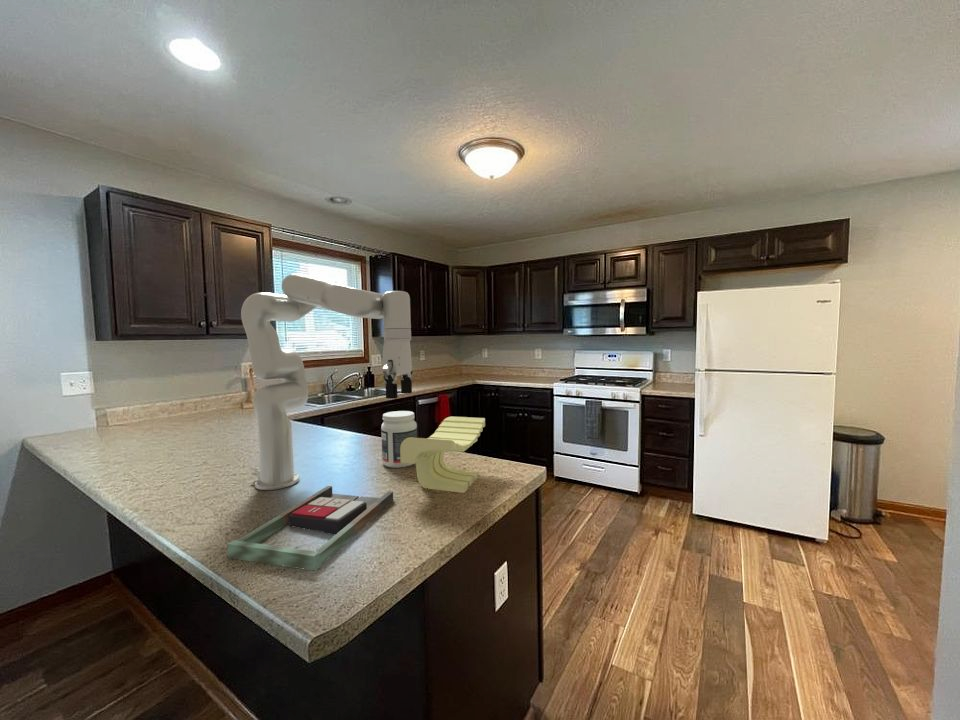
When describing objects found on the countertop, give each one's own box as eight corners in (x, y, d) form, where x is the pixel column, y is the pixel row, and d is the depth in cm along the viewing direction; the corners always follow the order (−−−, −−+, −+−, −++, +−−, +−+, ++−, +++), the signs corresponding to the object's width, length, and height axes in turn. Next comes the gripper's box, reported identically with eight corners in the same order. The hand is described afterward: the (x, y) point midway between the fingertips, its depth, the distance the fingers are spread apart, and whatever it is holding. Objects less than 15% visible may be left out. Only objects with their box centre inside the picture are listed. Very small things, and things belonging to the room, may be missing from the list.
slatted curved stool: (443, 464, 139) (442, 415, 138) (485, 469, 134) (485, 418, 133) (401, 498, 110) (399, 436, 109) (453, 504, 106) (452, 440, 105)
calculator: (320, 495, 105) (366, 499, 100) (321, 510, 105) (368, 515, 100) (287, 512, 95) (338, 518, 90) (289, 529, 95) (339, 536, 90)
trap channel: (227, 557, 81) (227, 543, 81) (327, 494, 114) (327, 484, 114) (314, 570, 76) (314, 556, 76) (393, 500, 109) (393, 490, 109)
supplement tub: (423, 459, 146) (422, 410, 145) (409, 470, 134) (408, 417, 133) (391, 457, 149) (390, 409, 148) (375, 468, 137) (373, 416, 136)
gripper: (398, 335, 119) (400, 391, 119) (370, 335, 102) (372, 400, 103) (421, 335, 117) (423, 391, 118) (396, 335, 100) (398, 400, 101)
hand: (399, 395), depth 110 cm, fingers open, 9 cm apart
